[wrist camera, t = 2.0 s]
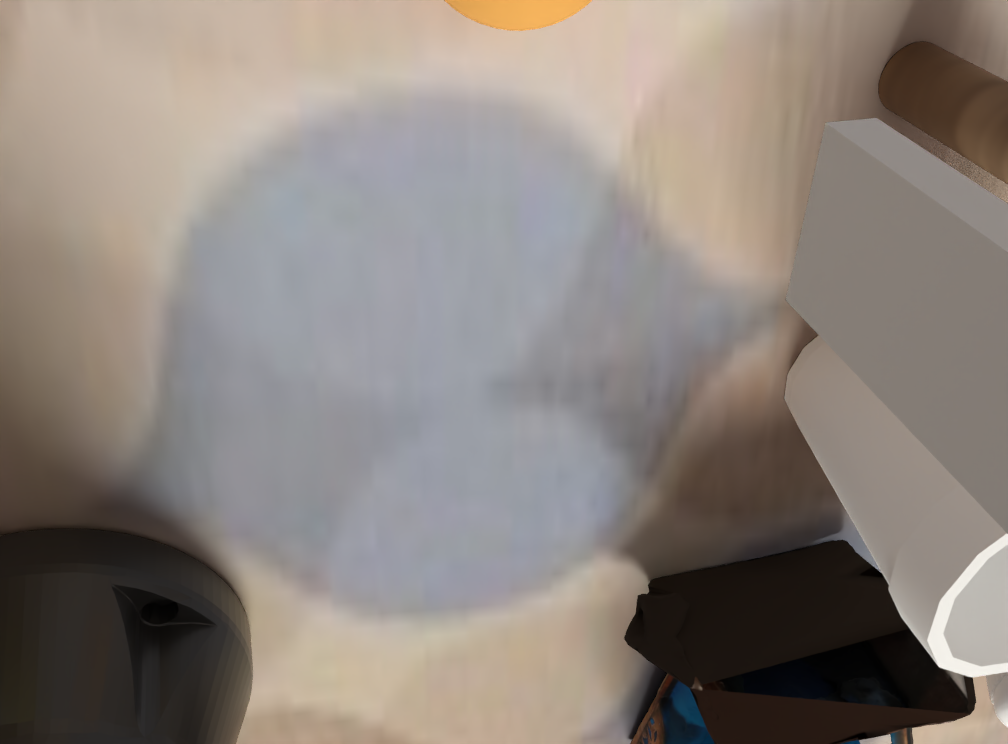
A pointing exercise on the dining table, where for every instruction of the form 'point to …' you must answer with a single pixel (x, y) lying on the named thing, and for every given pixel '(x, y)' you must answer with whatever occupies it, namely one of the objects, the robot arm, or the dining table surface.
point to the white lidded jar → (999, 694)
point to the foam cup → (907, 515)
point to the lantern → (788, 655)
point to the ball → (518, 12)
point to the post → (950, 103)
